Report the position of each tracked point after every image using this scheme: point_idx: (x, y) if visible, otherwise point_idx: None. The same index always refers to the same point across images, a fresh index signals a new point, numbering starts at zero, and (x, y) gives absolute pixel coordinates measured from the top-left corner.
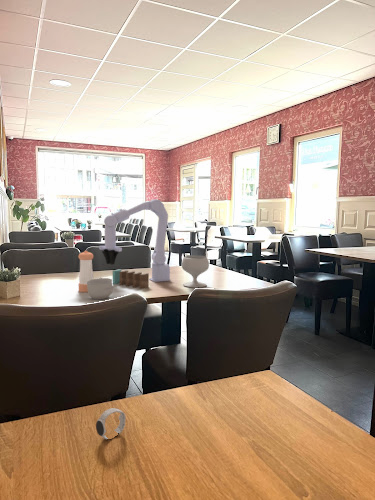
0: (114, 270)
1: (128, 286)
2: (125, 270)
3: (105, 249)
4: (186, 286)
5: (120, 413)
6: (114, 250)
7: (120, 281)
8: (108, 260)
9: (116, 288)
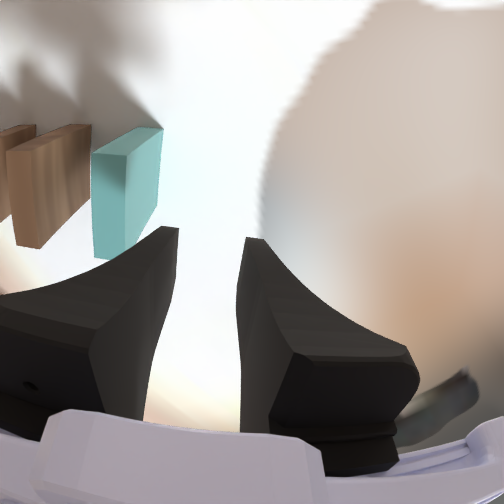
0: (112, 174)
1: (18, 125)
2: (34, 236)
3: (350, 467)
4: None
5: None
6: None
7: (68, 130)
8: (244, 286)
9: (46, 27)
